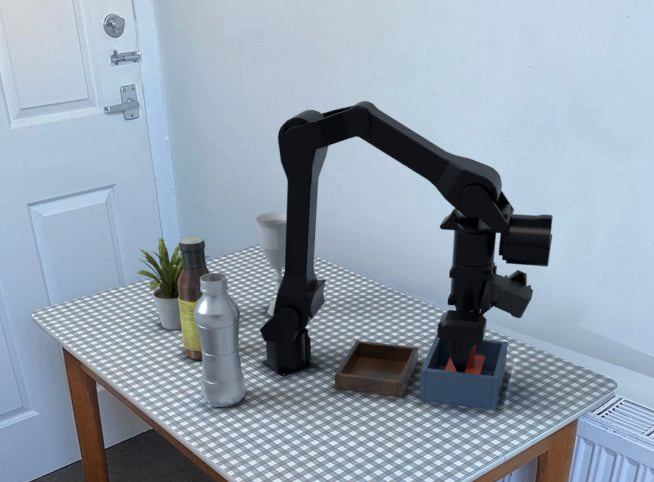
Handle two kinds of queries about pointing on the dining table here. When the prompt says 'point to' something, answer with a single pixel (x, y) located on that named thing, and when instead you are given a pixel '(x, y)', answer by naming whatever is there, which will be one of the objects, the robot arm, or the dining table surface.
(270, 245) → the chalice
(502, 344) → the tote
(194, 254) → the sauce bottle
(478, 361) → the brush
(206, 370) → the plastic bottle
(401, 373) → the brown wooden tray
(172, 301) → the house plant
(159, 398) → the dining table surface
